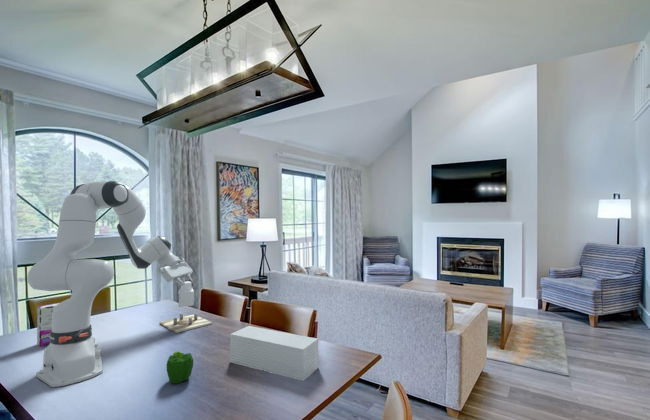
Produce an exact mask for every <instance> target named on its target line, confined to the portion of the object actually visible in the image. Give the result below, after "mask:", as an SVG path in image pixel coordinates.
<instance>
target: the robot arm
mask: <svg viewBox="0 0 650 420" xmlns="http://www.w3.org/2000/svg"><path fill="white" fill-rule="evenodd" d="M110 208H112V209H113V211H114V212H115V213H116V215H117V217H118V223H117V225H116V229H117V232H118V235H119V236H120V239H121V241H122V243H123V245H124V247H125V249H126V251H127V254H128V256H129V258H130V262H131V263H132V265H133V266H134V267H135V268H137V269H138V270H139V269H141V270H143V269H144V270H145V269H147V268H148V267H150V266H151V265H152V264H154V263H155V262H156V264H157V265H158V270H159V271H160V272H159V273H160V274H161V277H162V278H163V279H164V280H165V281H166V282H168V283H171V282H175V283H177V284H178V285H179V286H180V285H181V286H183V285H184V284H185V283H184V281H185V280H181V279H183V278H185V279H186V281H192V282H193V278H192V277H191V275H192V273H193V272H194V271H193V269H192V267H191V266H190V265H189V264H188V263H187V262H186V261H185V259H184V257H180V256H177V255H175V254H174V253H172V252H171V249H172V244H171V242H170V241H168V239H166V237H165V236H162V235H158V236H157V235H156V236H155V237H151V238H149V239H148V240H147V241H145V243H144V244H143V245H141V246H140V247H138V246H137V244H136V243H135V239H134V233H135V231H136V230H137V228H138V227H139V226H140V225H141V224H142V222H143V221H144V220H145V218H146V215H147V211H146V210H147V209H146V208H145V206H144V204H143V201H141V199H140V198H139V196H138V195H137V194H136V193H135V192H134V191H133V190H132V188H131V187H130V186H128V185H127V184H123V183H122V182H120V181H117V180H116V181H115V180H109V181H93V182H89V183H88V182H87V183H82V184H79V185H76V186H75V187H73V189H72V190H71V192H70V194H69V195H67V196H66V197H65V198H64V199H63V203H62V206H61V209H60V212H59V219H58V228H57V233H56V239H55V242H54V245H53V247H52V249H51V250H50V252H49V253H47V255H45V257H44V258H42V259H41V260H40V261H38V262H36V263H35V264H33V266H31V267H30V269H29V271H28V272H27V283H28V285H29V286H30V288H32V289H33V290H37V291H45V292H46V291H47V292H59V291H60V292H61V291H71V296H70V297H68V298H66V299H65V300H63V301H61V302H58V303H59V304H58V305H57V306H56V307H55V308H54V309H53V312H52V330H51V331H50V337H49V338H50V342H51V343H50V344H49V345H47V347H45V348H44V350H43V360H42V369H41V370H38V371H37V372H36V373H35V377H36V378H37V379H39V380H41V381H42V382H43V383H45V384H46V385H47V386H49V387H51V388H57V387H63V386H68V385H72V384H76V383H79V382H83V381H86V380H88V379H92V378H94V377H97V376H98V375H101V374H102V373H103V362H102V360H103V359H102V356H101V349H100V348H99V349H96V348H98V347H99V345H98V343H96V338H95V337H94V336H92V335H93V333H92V332H93V328H92V324H91V315H92V314H91V313H92V307H93V302H94V300H95V299H96V296H97V295H98V294H99V292H100V291H101V290H103V289H104V288H105V287H107V286H108V285H109V284H110V283H111V282H112V281H113V278H114V276H115V270H114V266H113V264H112V263H111V262H110V261H108V260H104V259H98V258H97V259H96V258H87V259H86V258H84V259H81V258H80V259H76V257H77V255H78V253H79V252H81V251H83V250H85V249H88V248H89V247H90V246H91V245H93V243H94V242H95V236H96V225H97V224H96V223H97V222H96V221H97V211H98V210H104V209H110Z"/></svg>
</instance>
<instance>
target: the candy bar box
mask: <svg viewBox="0 0 650 420" xmlns="http://www.w3.org/2000/svg"><path fill="white" fill-rule="evenodd" d="M59 303H60V302H57V303H56V302H55V303H51V304H46V305H39V306H37V309H36V310H37V311H36V312H37V313H36V314H37V317H36V318H37V322H36V323H37V324H36V325H37V326H36V331H37V332H36V339H37V340H36V345H37V346H38V347H39V348H40V347H44V346H45V347H46V346H49V344H50V343H51V342H50V338H49V337H50V331H51V330H52V312H53V309H54V308H55V307H56V306H57V305H58V304H59Z"/></svg>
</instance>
